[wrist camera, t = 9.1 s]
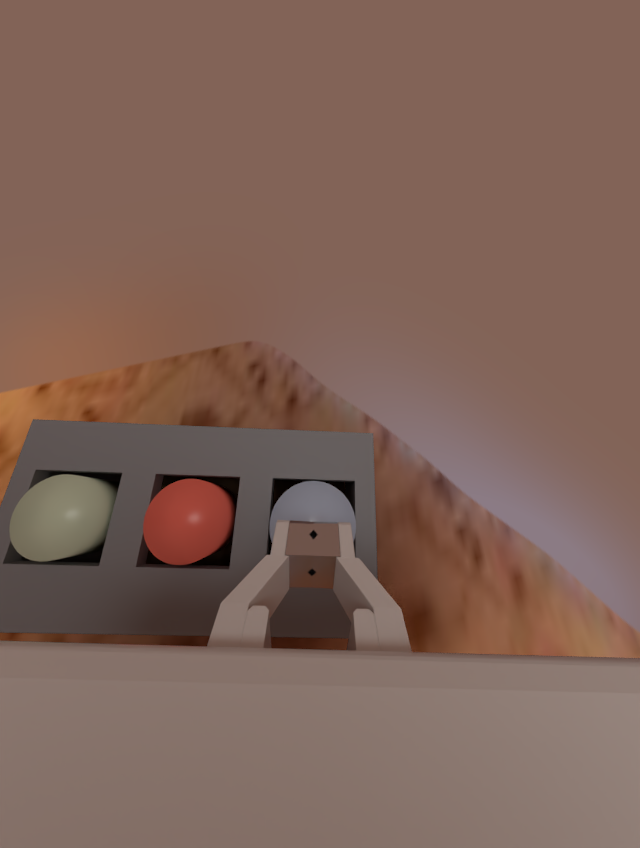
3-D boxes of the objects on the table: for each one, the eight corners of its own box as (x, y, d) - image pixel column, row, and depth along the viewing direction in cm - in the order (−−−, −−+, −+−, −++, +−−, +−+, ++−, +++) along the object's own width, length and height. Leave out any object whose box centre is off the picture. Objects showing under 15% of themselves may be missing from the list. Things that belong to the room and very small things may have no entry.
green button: (52, 551, 18) (-5, 560, 15) (74, 479, 20) (27, 473, 16) (125, 553, 18) (84, 562, 15) (141, 481, 20) (108, 475, 16)
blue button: (273, 560, 17) (265, 572, 14) (279, 484, 19) (273, 479, 16) (347, 562, 18) (356, 574, 14) (347, 487, 19) (355, 482, 16)
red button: (165, 554, 18) (134, 563, 15) (179, 482, 20) (153, 477, 17) (236, 556, 19) (220, 566, 15) (244, 485, 20) (231, 480, 17)
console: (85, 586, 23) (-47, 631, 14) (121, 448, 27) (33, 419, 18) (353, 592, 24) (379, 638, 15) (352, 457, 27) (373, 433, 19)
